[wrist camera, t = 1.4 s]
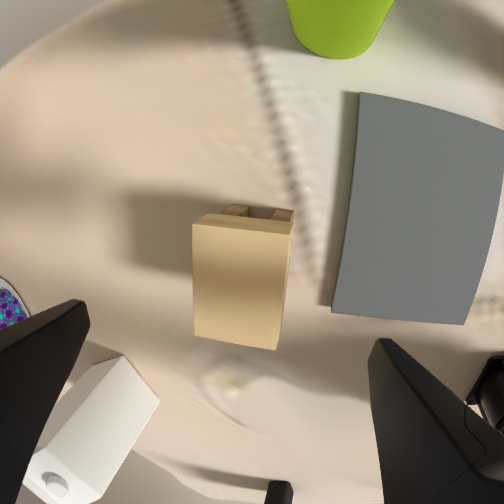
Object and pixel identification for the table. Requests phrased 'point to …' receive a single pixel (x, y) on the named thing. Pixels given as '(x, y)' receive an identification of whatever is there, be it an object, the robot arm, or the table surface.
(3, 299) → the pudding
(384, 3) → the soap dispenser
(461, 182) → the grey rectangular board
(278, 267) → the oak stool
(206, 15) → the table surface
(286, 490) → the walkie-talkie
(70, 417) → the milk carton
